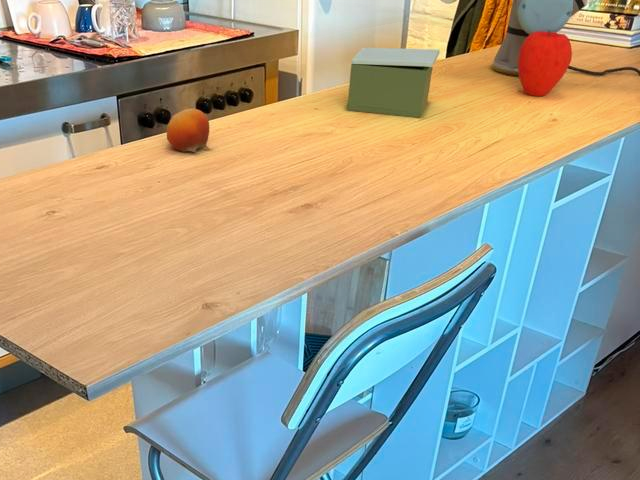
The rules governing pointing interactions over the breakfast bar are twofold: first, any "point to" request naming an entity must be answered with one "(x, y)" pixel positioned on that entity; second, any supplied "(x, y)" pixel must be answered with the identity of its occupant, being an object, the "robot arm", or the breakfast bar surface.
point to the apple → (543, 61)
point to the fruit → (188, 130)
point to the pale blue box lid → (396, 57)
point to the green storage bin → (389, 89)
